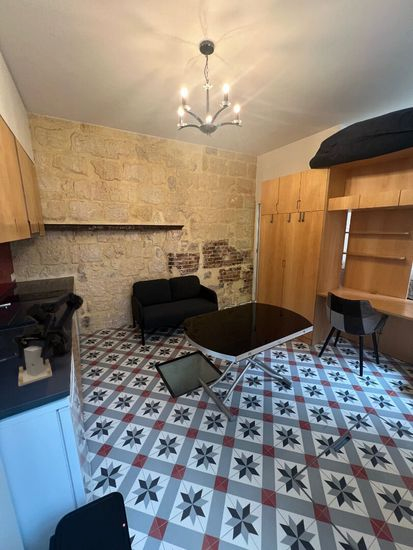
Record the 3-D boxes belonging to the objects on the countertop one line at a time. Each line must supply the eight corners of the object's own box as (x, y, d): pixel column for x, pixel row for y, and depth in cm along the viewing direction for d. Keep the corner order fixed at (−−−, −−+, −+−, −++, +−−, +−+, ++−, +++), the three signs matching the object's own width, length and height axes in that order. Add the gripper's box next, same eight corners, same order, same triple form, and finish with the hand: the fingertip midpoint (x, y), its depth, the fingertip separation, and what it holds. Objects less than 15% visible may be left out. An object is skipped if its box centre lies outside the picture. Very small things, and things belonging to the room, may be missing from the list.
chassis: (19, 373, 109) (18, 367, 108) (50, 364, 116) (49, 358, 115) (18, 386, 99) (17, 379, 99) (52, 375, 106) (51, 368, 106)
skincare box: (26, 374, 107) (22, 349, 105) (36, 368, 111) (32, 344, 109) (35, 376, 104) (31, 351, 102) (45, 371, 109) (41, 346, 107)
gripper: (12, 319, 107) (-4, 353, 98) (53, 317, 108) (41, 351, 99) (26, 328, 116) (13, 361, 107) (65, 327, 117) (55, 359, 108)
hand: (30, 358), depth 105 cm, fingers open, 9 cm apart
